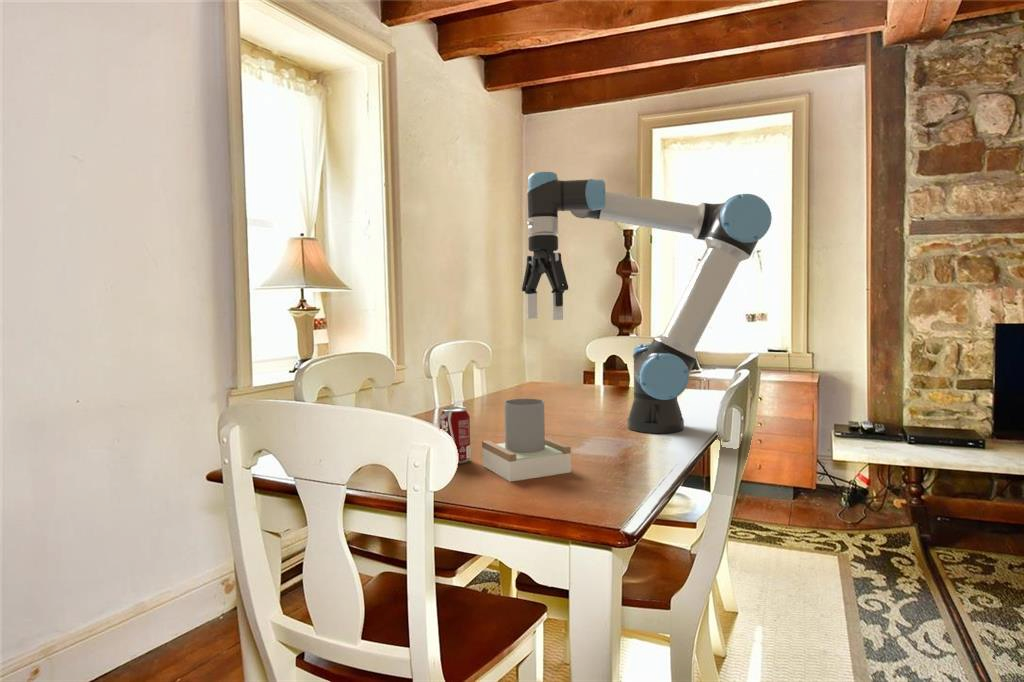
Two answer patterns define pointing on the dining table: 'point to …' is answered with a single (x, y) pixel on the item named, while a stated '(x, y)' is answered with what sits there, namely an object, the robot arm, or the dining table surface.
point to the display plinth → (526, 460)
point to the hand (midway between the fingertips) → (544, 319)
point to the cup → (524, 425)
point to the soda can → (457, 429)
